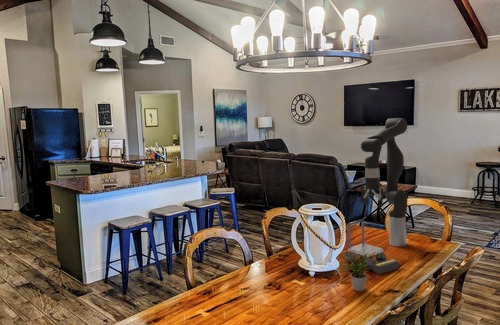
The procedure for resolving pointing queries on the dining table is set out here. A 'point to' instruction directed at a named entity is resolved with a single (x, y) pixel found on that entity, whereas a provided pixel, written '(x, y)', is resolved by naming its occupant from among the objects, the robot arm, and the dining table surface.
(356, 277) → the house plant
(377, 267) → the block
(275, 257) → the dining table surface
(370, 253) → the trolley
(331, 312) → the dining table surface
